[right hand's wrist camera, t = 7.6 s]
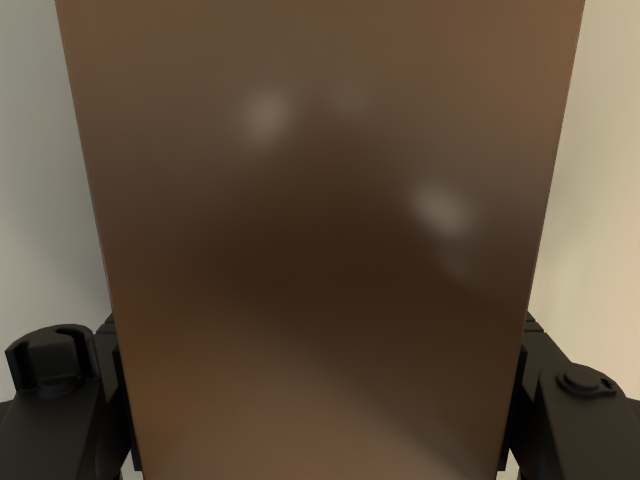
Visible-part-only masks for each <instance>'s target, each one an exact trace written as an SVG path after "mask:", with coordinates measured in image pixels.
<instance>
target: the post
mask: <svg viewBox="0 0 640 480" xmlns="http://www.w3.org/2000/svg"><path fill="white" fill-rule="evenodd" d="M584 4H585V0H55V5H56V11H57V16H58V21H59V27H60V32H61V37H62V43H63V48H64V54H65V59H66V64H67V70H68V75H69V81H70V86H71V91H72V97H73V102H74V107H75V113H76V118H77V124H78V129H79V134H80V140H81V145H82V151H83V156H84V161H85V167H86V172H87V177H88V183H89V188H90V194H91V199H92V204H93V210H94V215H95V221H96V226H97V231H98V237H99V242H100V248H101V253H102V258H103V264H104V269H105V274H106V280H107V285H108V291H109V296H110V301H111V307H112V312H113V318H114V323H115V328H116V334H117V339H118V344H119V350H120V355H121V361H122V366H123V371H124V377H125V382H126V388H127V393H128V398H129V404H130V409H131V414H132V420H133V425H134V431H135V436H136V441H137V447H138V452H139V458H140V463H141V468H142V474H143V479H144V480H496V476H497V471H498V466H499V460H500V455H501V449H502V444H503V439H504V433H505V428H506V423H507V417H508V412H509V407H510V401H511V396H512V390H513V385H514V380H515V374H516V369H517V364H518V358H519V353H520V348H521V342H522V337H523V331H524V326H525V321H526V315H527V310H528V305H529V299H530V294H531V289H532V283H533V278H534V272H535V267H536V262H537V256H538V251H539V246H540V240H541V235H542V230H543V224H544V219H545V213H546V208H547V203H548V197H549V192H550V187H551V181H552V176H553V171H554V165H555V160H556V154H557V149H558V144H559V138H560V133H561V128H562V122H563V117H564V112H565V106H566V101H567V95H568V90H569V85H570V79H571V74H572V69H573V63H574V58H575V53H576V47H577V42H578V36H579V31H580V26H581V20H582V15H583V10H584Z"/></svg>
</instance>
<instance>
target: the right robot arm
mask: <svg viewBox="0 0 640 480" xmlns="http://www.w3.org/2000/svg"><path fill="white" fill-rule="evenodd" d="M5 355H6V358H7V361H8V365H9V368H10V372H11V375H12V378H13V382H14V385H15V389H16V392H17V393H16V395H15V397H14V399H13V400H10V401H6V402H1V403H0V480H123V477H122V472H121V467H122V465H123V463H124V461H125V459H126V457H127V455H128V453H129V451H130V449H131V455H132V460H133V465H134V470H135V471H142V468H141V463H140V458H139V452H138V447H137V441H136V436H135V431H134V425H133V420H132V414H131V409H130V404H129V398H128V393H127V388H126V382H125V377H124V371H123V366H122V361H121V355H120V350H119V344H118V339H117V334H116V328H115V323H114V318H113V312H112V313H111V315H110V316H109V317H108V318H107V319H106V321H105V324H102V325H101V326H100V328H99V329H98V330H97V331H96V334H94V335H93V333H92V331H91V330H90V329H89V328H87V327H86V326H82V325H77V324H60V325H55V326H50V327H45V328H42V329H39V330H36V331H34V332H31V333H29V334H26V335H24V336H23V337H21V338H19V339H18V340H16V341H14V342H13V343H12V344H11V345H10V346H9V347H8V348H7V349H6V350H5ZM509 448H510V449H511V451H512V453H513V455H514V457H515V459H516V461H517V463H518V465H519V472H518V477H517V480H640V401H639V400H634V399H630V398H627V397H626V396H625V394H624V392H623V391H622V389H621V388H620V387H619V386H618V384H617V383H616V382H615V381H613V380H612V379H611V378H609V377H608V376H606V375H605V374H603V373H601V372H599V371H597V370H595V369H592V368H590V367H588V366H584V365H580V364H576V363H572V362H571V361H570V360H569V359H568V358H567V357H566V355H565V354H564V353H563V352H562V351H561V350H560V348H559V347H558V346H557V345H556V344H555V342H554V341H553V340H552V339H551V338H550V337H549V335H548V334H547V333H544V329H543V328H542V327H541V326H540V325H539V324H538V322H535V319H534V318H533V317H532V315H531V314H530V313H529V312H528V311H527V315H526V321H525V326H524V331H523V337H522V342H521V348H520V353H519V358H518V364H517V369H516V374H515V380H514V385H513V390H512V396H511V401H510V407H509V412H508V417H507V423H506V428H505V433H504V439H503V444H502V449H501V455H500V460H499V466H498V471H505V468H506V463H507V458H508V453H509Z"/></svg>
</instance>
